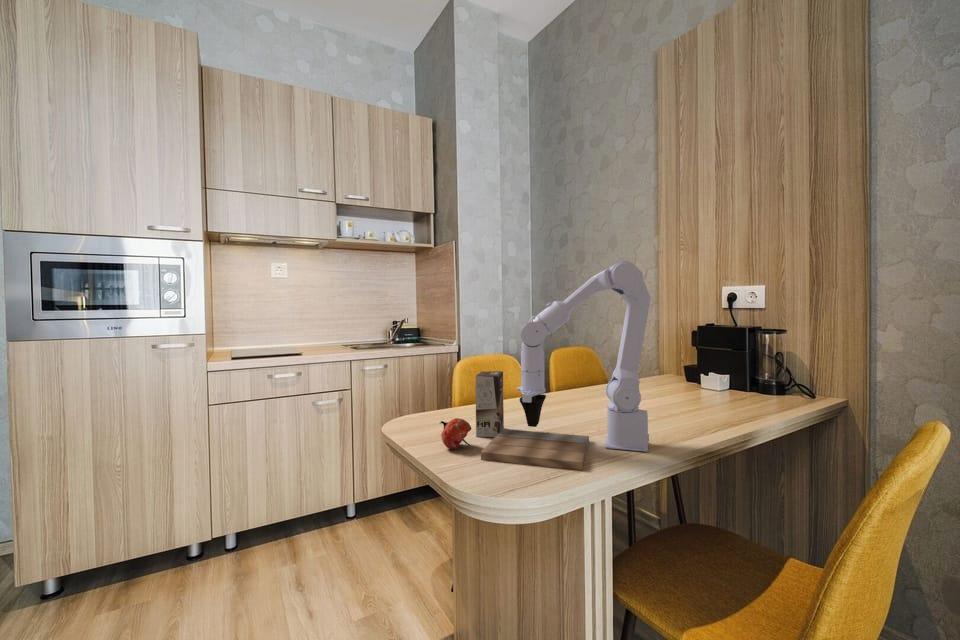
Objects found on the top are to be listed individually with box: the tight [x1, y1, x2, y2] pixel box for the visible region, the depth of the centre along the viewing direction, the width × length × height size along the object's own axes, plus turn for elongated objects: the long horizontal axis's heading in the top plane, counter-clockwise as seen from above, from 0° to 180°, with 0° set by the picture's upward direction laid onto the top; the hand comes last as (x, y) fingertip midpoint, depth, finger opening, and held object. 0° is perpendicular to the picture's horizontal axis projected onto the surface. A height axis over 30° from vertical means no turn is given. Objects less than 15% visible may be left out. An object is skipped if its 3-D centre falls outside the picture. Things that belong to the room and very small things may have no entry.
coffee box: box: [474, 370, 505, 439], centre depth 114 cm, size 9×6×16 cm
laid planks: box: [480, 436, 588, 471], centre depth 97 cm, size 22×12×2 cm, turn 71°
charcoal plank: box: [497, 428, 590, 449], centre depth 106 cm, size 22×7×2 cm, turn 71°
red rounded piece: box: [439, 417, 474, 451], centre depth 103 cm, size 7×7×10 cm
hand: (533, 425), depth 105 cm, fingers closed
